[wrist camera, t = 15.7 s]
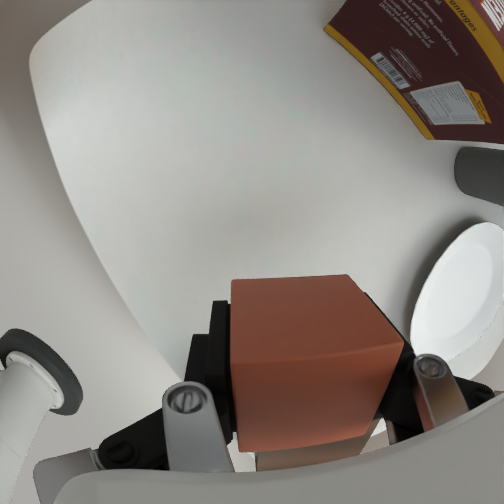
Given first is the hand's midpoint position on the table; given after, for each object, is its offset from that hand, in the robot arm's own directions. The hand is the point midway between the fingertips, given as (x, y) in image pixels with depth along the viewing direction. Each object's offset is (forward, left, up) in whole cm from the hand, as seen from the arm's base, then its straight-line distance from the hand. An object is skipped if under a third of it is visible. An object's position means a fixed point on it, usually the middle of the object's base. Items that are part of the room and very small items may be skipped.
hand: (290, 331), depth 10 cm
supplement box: (+15, +19, -15) cm, 28 cm away
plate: (+28, -8, -15) cm, 33 cm away
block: (0, 0, 0) cm, 0 cm away
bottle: (+25, +8, -15) cm, 30 cm away
